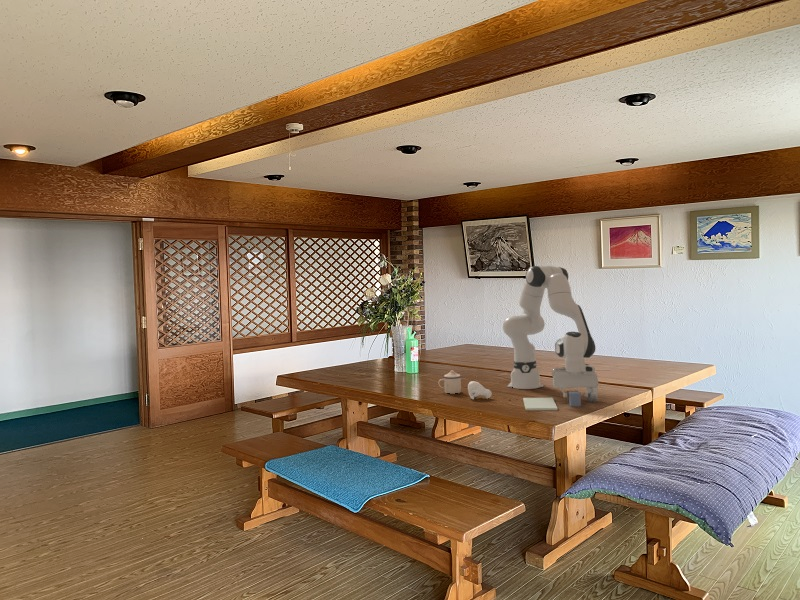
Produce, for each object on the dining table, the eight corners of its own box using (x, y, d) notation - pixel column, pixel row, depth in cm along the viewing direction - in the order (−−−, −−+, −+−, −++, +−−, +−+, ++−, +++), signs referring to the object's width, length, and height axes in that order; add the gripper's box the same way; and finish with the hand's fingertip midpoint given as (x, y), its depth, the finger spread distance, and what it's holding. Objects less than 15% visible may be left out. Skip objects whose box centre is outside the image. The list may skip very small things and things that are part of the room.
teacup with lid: (461, 390, 320) (460, 369, 319) (461, 394, 311) (461, 371, 310) (438, 391, 320) (437, 369, 320) (438, 394, 311) (438, 372, 311)
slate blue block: (569, 404, 278) (569, 391, 278) (579, 404, 278) (579, 391, 277) (570, 406, 274) (570, 393, 274) (580, 406, 273) (580, 393, 273)
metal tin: (586, 400, 285) (585, 385, 285) (596, 400, 284) (596, 385, 284) (587, 402, 280) (587, 387, 280) (598, 402, 279) (598, 387, 279)
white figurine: (469, 379, 302) (493, 382, 299) (468, 396, 303) (492, 399, 300) (467, 382, 296) (491, 384, 293) (466, 399, 297) (490, 401, 294)
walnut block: (566, 401, 285) (566, 390, 285) (577, 400, 285) (577, 390, 284) (568, 403, 281) (568, 392, 280) (579, 403, 280) (578, 392, 280)
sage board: (523, 399, 291) (523, 397, 291) (552, 399, 289) (552, 397, 289) (525, 410, 269) (525, 408, 269) (557, 410, 267) (557, 408, 267)
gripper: (552, 368, 273) (553, 398, 274) (598, 367, 270) (599, 398, 271) (550, 366, 279) (551, 395, 280) (596, 365, 276) (596, 395, 277)
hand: (575, 396), depth 275 cm, fingers open, 8 cm apart
